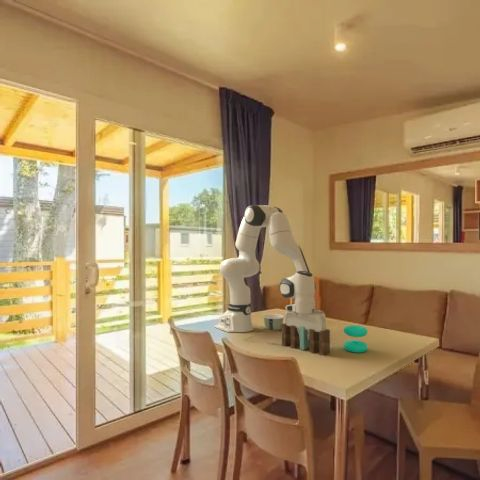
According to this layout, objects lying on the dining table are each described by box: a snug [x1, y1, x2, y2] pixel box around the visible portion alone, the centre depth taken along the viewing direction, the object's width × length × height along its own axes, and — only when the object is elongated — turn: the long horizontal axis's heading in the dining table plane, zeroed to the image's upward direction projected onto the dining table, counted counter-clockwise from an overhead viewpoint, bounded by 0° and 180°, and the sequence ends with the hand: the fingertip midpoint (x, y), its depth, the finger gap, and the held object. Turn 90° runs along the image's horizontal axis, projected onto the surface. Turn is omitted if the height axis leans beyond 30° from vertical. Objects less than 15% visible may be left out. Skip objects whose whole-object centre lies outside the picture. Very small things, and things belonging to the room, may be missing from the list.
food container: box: [262, 313, 285, 331], centre depth 204 cm, size 12×12×6 cm
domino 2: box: [290, 325, 300, 349], centre depth 168 cm, size 2×5×10 cm, turn 136°
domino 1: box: [281, 322, 291, 347], centre depth 171 cm, size 2×5×10 cm, turn 136°
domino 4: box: [309, 329, 320, 354], centre depth 161 cm, size 2×5×10 cm, turn 136°
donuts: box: [343, 324, 369, 354], centre depth 162 cm, size 10×10×10 cm
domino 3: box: [299, 326, 310, 351], centre depth 164 cm, size 2×5×10 cm, turn 136°
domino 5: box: [319, 328, 331, 356], centre depth 157 cm, size 2×5×10 cm, turn 136°
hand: (304, 338), depth 164 cm, fingers closed on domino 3, 2 cm apart
